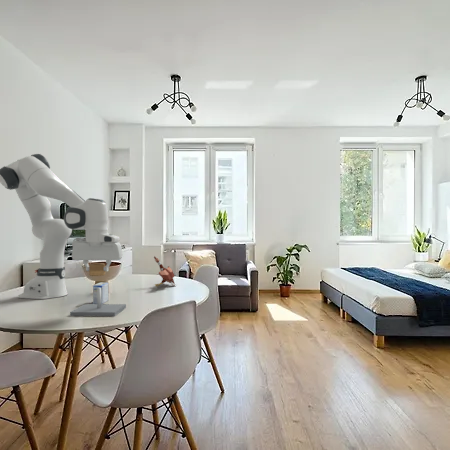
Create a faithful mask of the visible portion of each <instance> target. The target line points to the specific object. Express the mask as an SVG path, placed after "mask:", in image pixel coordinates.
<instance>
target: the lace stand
mask: <svg viewBox="0 0 450 450" xmlns="http://www.w3.org/2000/svg"><path fill="white" fill-rule="evenodd" d="M126 308H127V304H126V303H123V304H121V303H119V304H118V303H103V304H101V288H97V304H93V303H84V304H83V305H81V306H78V307H77V308H75V309H73V310H71V311H69V317H116V316H117V315H118V314H119V313H122V311H124V310H125V309H126Z"/></svg>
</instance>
